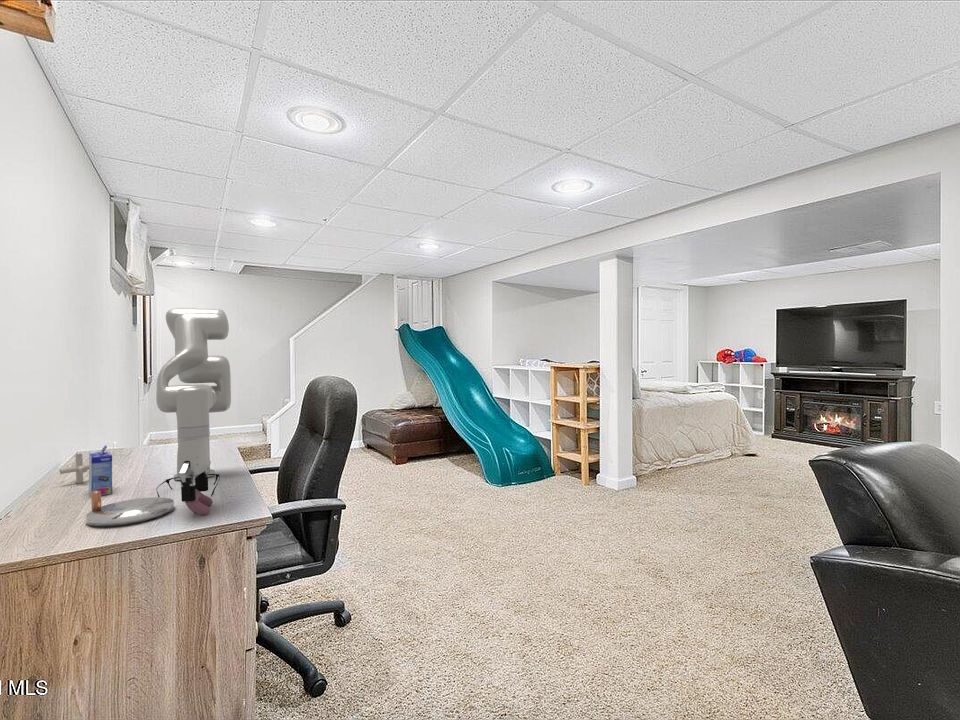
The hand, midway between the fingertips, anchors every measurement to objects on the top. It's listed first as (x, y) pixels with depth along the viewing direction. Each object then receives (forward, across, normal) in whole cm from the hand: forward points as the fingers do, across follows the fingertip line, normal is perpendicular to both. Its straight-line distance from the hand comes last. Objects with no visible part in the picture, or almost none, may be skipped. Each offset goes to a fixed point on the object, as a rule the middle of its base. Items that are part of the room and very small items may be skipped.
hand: (195, 495), depth 132 cm
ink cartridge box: (+5, -28, -37) cm, 47 cm away
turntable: (+4, -1, -16) cm, 17 cm away
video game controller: (+5, 0, +1) cm, 5 cm away
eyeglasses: (+5, -21, -9) cm, 23 cm away
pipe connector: (+4, -43, -51) cm, 67 cm away
